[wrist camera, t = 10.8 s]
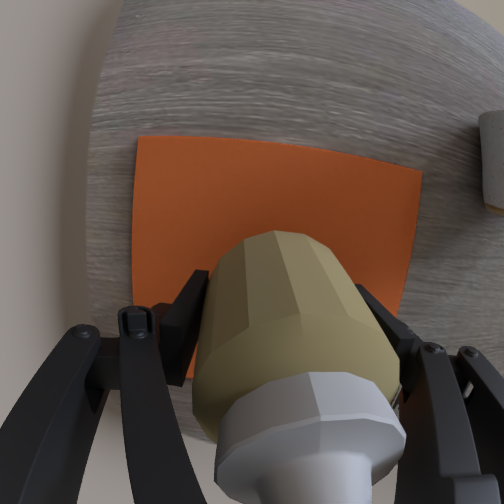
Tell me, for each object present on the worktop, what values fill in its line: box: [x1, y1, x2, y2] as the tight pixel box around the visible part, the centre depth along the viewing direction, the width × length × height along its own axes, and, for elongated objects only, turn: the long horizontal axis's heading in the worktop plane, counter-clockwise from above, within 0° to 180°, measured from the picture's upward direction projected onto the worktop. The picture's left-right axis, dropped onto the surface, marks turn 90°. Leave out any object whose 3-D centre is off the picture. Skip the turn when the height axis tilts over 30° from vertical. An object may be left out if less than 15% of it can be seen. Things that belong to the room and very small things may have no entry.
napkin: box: [132, 136, 422, 378], centre depth 19 cm, size 18×20×1 cm
